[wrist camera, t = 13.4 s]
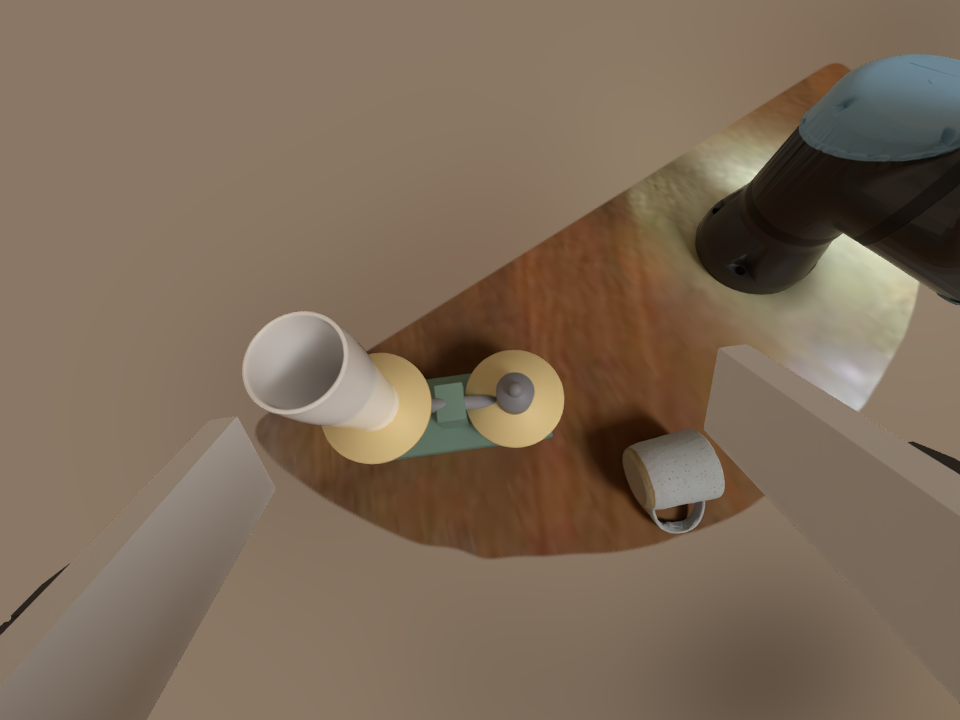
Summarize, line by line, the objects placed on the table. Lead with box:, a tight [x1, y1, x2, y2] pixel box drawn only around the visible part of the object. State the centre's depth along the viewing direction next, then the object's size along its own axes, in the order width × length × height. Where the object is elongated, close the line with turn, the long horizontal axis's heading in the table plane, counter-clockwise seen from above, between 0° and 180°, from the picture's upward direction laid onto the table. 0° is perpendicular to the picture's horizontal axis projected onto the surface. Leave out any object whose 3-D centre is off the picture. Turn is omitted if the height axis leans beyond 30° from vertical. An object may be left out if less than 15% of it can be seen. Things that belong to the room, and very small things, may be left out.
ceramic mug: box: [622, 429, 725, 533], centre depth 41 cm, size 11×8×8 cm
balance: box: [322, 350, 564, 464], centre depth 43 cm, size 25×11×12 cm, turn 98°
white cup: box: [242, 311, 399, 432], centre depth 30 cm, size 7×7×15 cm
